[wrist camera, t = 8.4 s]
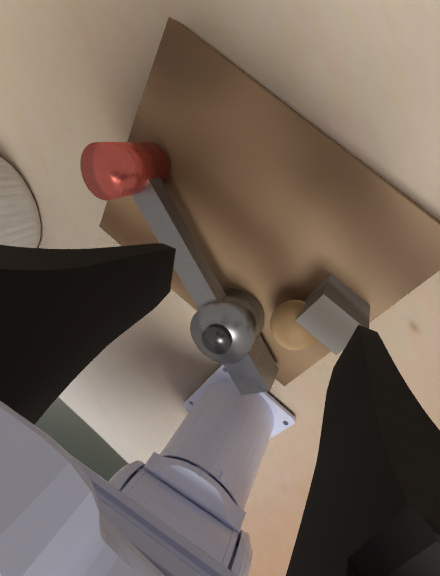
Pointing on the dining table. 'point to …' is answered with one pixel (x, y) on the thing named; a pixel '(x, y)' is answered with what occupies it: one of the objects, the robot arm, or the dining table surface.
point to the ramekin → (17, 210)
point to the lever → (185, 260)
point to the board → (274, 205)
